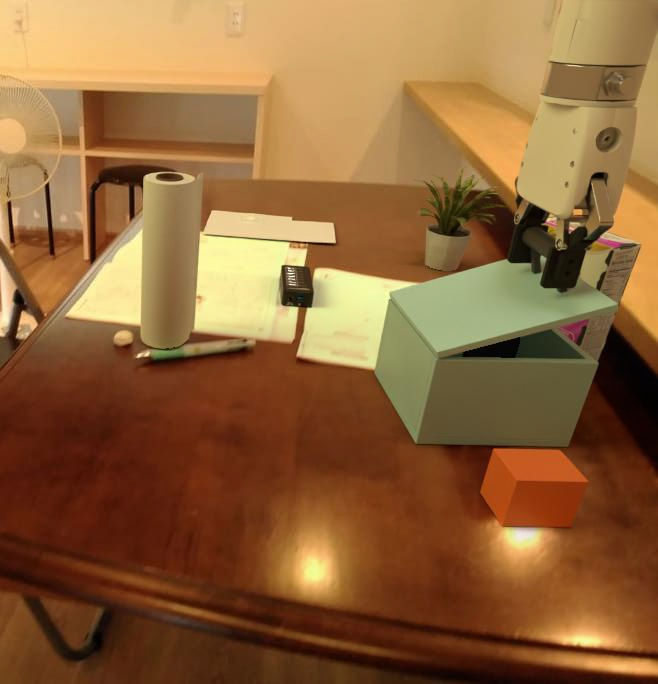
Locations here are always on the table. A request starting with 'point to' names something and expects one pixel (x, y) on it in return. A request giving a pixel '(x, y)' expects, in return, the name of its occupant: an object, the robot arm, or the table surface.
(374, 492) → the table surface
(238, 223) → the paper
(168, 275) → the paper towel roll
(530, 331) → the freezer lid
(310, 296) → the multiport hub
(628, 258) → the candy bar box
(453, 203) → the house plant
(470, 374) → the box
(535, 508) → the block
